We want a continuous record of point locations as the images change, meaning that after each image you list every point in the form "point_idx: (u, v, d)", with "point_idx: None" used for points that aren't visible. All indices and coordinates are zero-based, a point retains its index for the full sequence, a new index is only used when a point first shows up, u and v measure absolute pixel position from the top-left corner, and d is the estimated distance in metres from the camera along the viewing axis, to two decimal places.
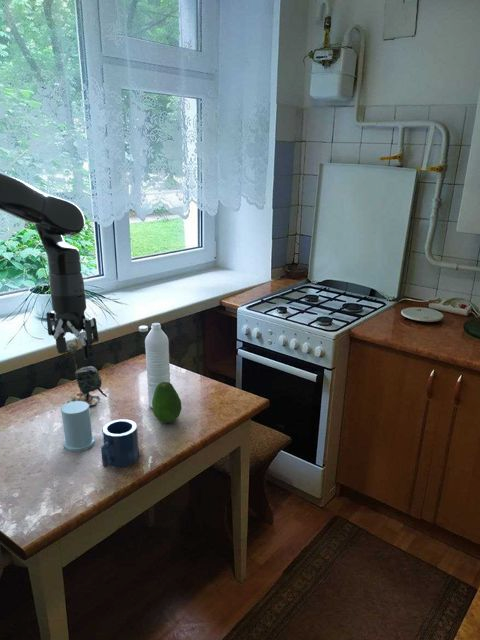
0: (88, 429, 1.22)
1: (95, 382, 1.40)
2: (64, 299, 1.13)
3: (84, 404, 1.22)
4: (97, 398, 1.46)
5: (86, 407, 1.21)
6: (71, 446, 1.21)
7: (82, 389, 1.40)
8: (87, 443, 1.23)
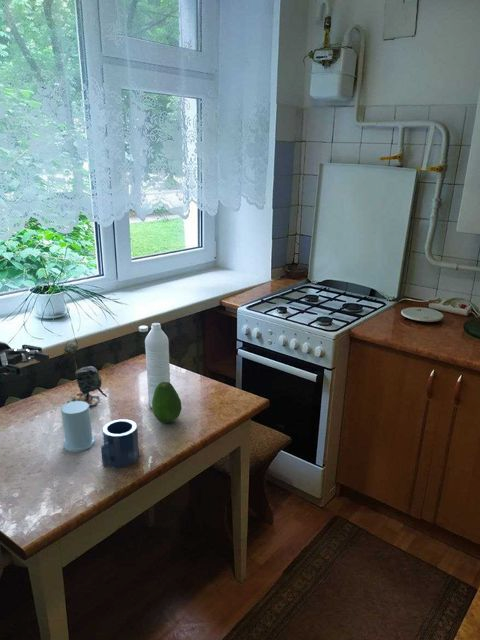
0: (88, 429, 1.22)
1: (95, 382, 1.40)
2: None
3: (84, 404, 1.22)
4: (97, 398, 1.46)
5: (86, 407, 1.21)
6: (71, 446, 1.21)
7: (82, 389, 1.40)
8: (87, 443, 1.23)
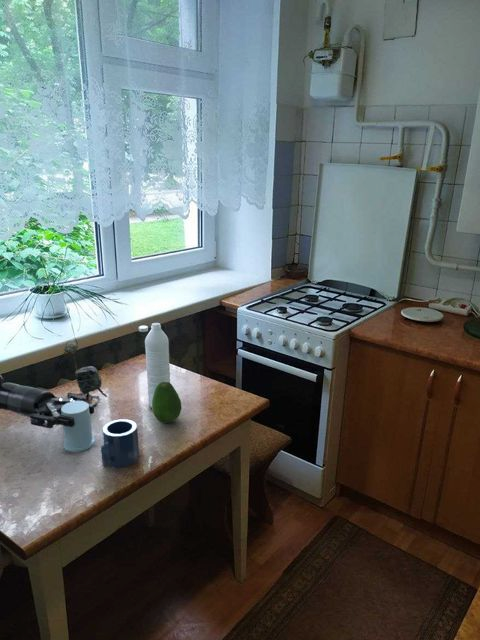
0: (88, 429, 1.22)
1: (95, 382, 1.40)
2: (39, 389, 1.27)
3: (84, 404, 1.22)
4: (97, 398, 1.46)
5: (86, 407, 1.21)
6: (71, 446, 1.21)
7: (82, 389, 1.40)
8: (87, 443, 1.23)
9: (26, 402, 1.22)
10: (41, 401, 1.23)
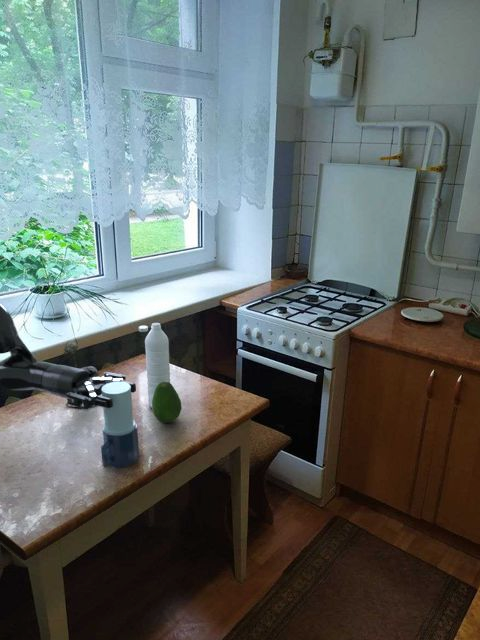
0: (130, 411, 1.14)
1: None
2: None
3: (126, 384, 1.14)
4: None
5: (128, 388, 1.13)
6: (112, 429, 1.13)
7: None
8: (128, 426, 1.14)
9: (63, 381, 1.14)
10: (79, 380, 1.15)
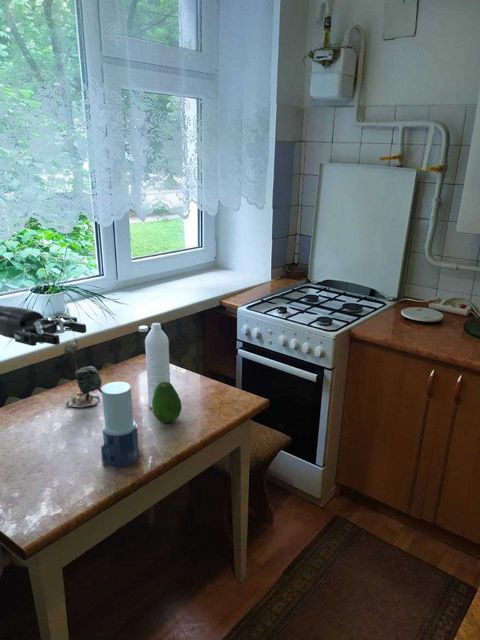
0: (130, 411, 1.14)
1: (95, 382, 1.40)
2: None
3: (126, 384, 1.14)
4: (97, 398, 1.46)
5: (128, 388, 1.13)
6: (112, 429, 1.13)
7: (82, 389, 1.40)
8: (128, 426, 1.14)
9: (12, 320, 1.14)
10: (29, 320, 1.15)
